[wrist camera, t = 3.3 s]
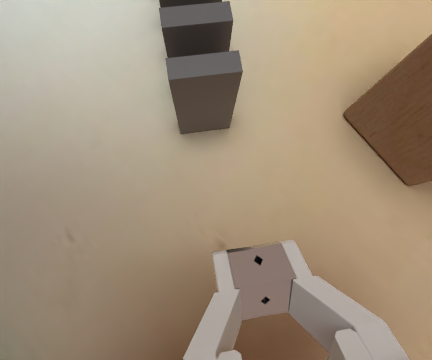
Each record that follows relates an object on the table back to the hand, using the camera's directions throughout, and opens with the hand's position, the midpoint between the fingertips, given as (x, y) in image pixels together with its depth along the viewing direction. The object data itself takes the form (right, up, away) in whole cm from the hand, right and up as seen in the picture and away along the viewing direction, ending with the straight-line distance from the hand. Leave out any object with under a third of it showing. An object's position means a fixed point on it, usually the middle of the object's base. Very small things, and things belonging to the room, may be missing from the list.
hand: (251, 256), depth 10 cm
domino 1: (-3, +9, +18) cm, 20 cm away
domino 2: (-3, +12, +19) cm, 23 cm away
